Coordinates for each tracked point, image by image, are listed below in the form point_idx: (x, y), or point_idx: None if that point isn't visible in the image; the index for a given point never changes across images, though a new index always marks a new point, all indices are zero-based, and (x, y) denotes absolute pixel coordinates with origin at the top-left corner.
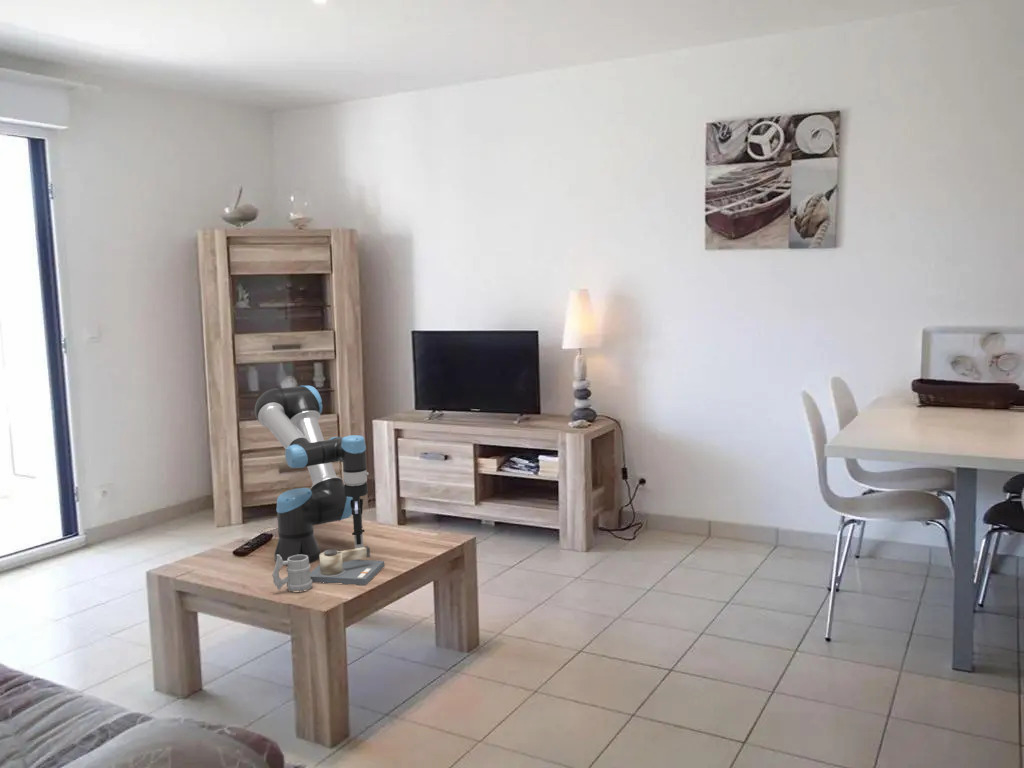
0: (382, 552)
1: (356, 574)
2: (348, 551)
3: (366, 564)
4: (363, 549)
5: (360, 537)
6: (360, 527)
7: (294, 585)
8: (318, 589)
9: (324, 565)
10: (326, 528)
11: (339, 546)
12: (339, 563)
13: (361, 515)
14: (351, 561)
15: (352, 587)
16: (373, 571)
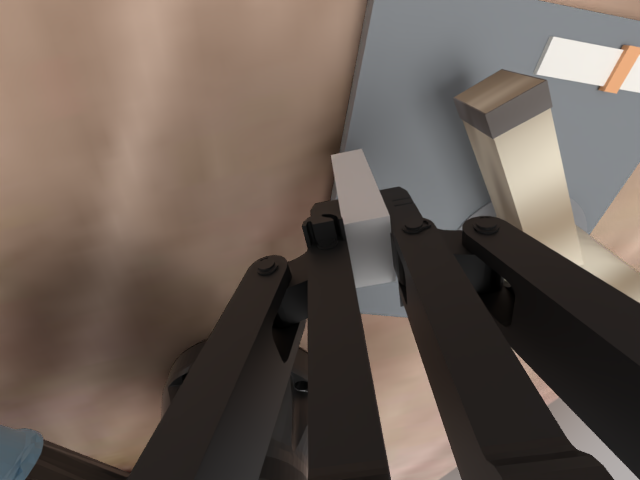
0: (86, 63)
1: (604, 119)
2: (567, 233)
3: (437, 98)
4: (552, 132)
5: (420, 215)
6: (570, 272)
7: None
8: (614, 251)
9: None
10: None
11: (76, 304)
12: (593, 239)
13: (232, 392)
14: None
15: None
16: (587, 11)
